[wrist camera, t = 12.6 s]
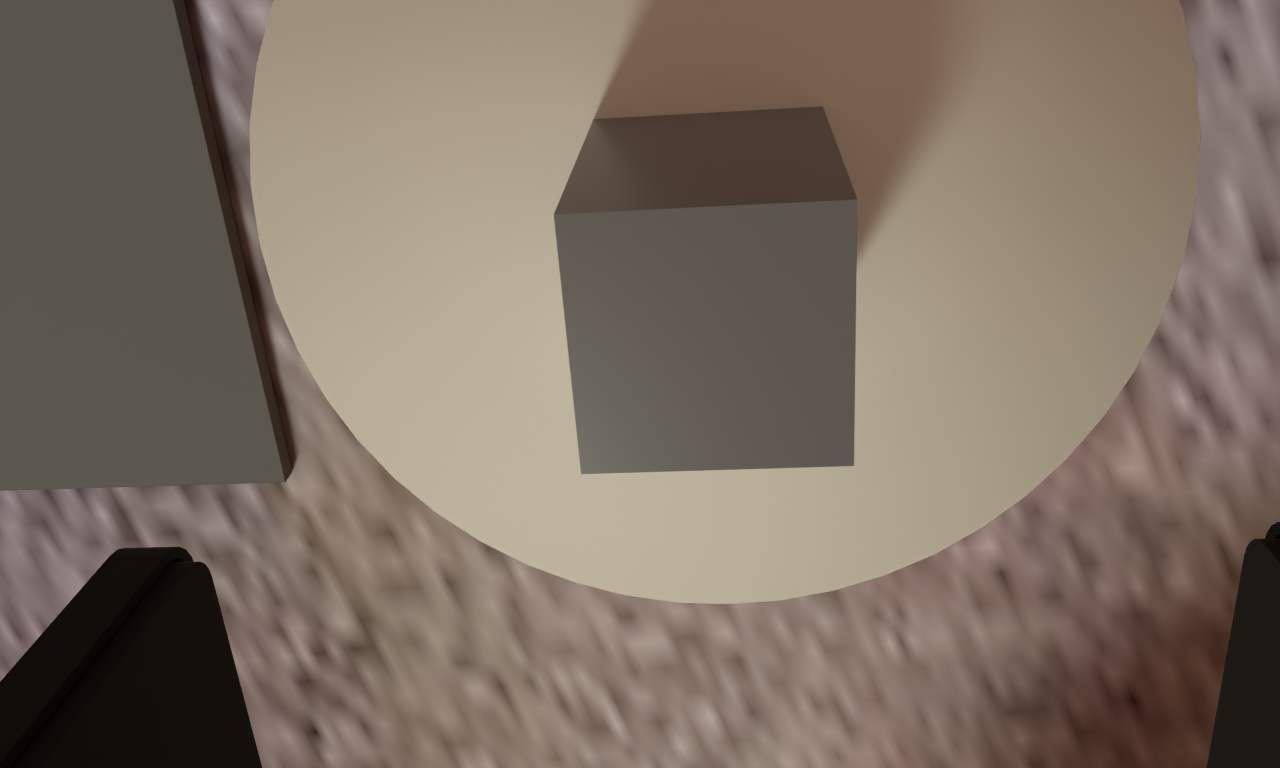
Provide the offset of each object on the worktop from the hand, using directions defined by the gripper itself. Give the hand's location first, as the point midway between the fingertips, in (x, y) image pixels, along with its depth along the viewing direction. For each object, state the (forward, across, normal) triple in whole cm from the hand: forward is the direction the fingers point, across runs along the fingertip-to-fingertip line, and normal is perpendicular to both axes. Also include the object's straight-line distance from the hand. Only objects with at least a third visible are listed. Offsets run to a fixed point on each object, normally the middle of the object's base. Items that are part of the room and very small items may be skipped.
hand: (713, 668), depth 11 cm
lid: (+13, 0, -1) cm, 13 cm away
